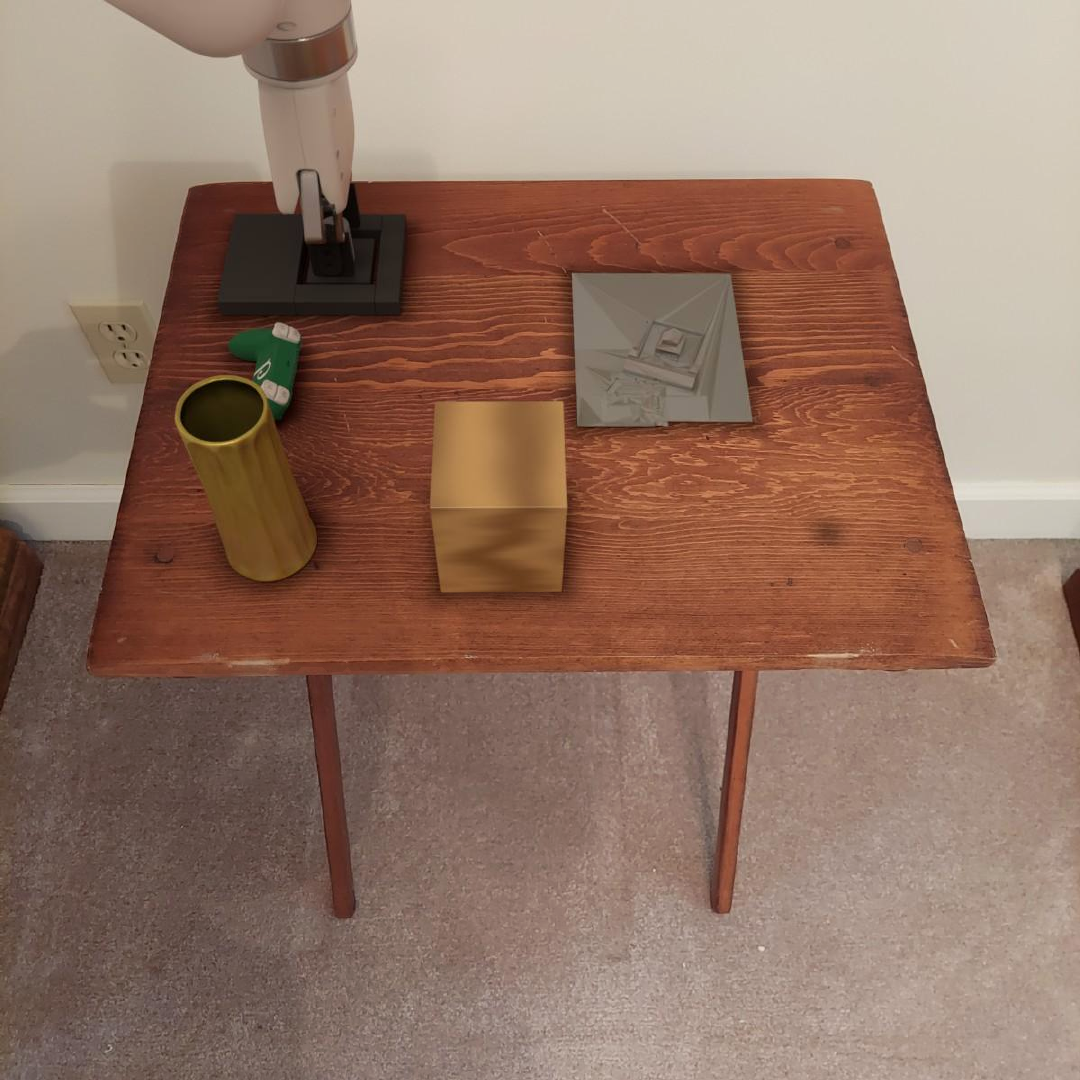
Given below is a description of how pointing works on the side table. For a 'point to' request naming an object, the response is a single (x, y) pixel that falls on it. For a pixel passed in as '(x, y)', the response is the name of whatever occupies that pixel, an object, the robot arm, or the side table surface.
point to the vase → (246, 477)
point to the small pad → (362, 259)
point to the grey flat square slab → (657, 350)
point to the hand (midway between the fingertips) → (337, 248)
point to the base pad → (278, 262)
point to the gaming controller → (271, 361)
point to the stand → (499, 495)
